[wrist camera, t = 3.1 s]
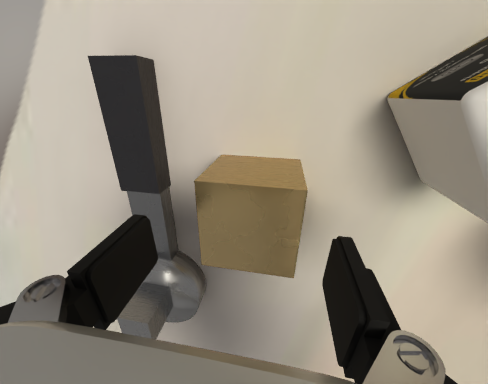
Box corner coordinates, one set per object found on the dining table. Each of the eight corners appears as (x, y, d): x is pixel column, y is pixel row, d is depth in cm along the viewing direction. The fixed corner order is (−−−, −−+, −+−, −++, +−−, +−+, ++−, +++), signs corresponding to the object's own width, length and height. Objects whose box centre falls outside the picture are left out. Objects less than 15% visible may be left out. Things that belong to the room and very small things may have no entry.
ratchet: (188, 59, 15) (129, 38, 9) (208, 309, 26) (186, 369, 21) (78, 60, 17) (-30, 42, 11) (141, 297, 28) (104, 350, 22)
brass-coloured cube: (300, 159, 17) (307, 190, 11) (291, 227, 19) (293, 278, 14) (221, 154, 18) (194, 181, 12) (223, 220, 20) (201, 264, 15)
